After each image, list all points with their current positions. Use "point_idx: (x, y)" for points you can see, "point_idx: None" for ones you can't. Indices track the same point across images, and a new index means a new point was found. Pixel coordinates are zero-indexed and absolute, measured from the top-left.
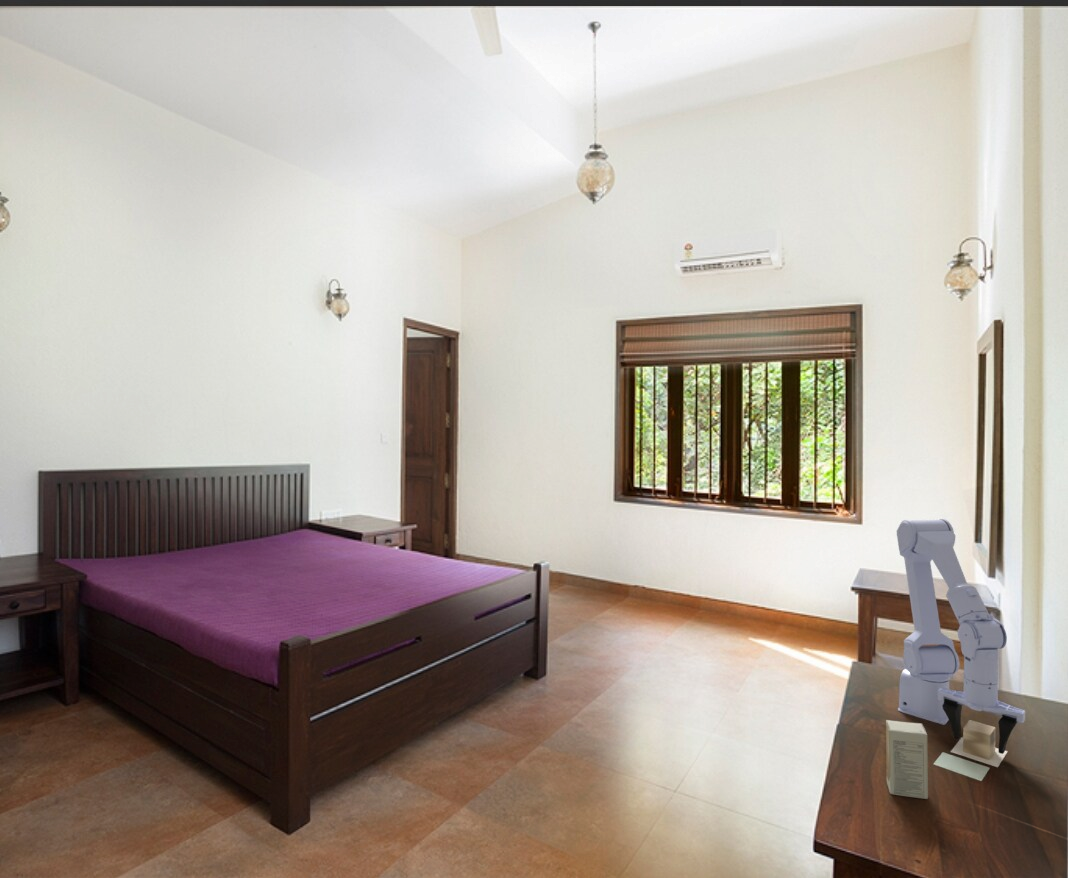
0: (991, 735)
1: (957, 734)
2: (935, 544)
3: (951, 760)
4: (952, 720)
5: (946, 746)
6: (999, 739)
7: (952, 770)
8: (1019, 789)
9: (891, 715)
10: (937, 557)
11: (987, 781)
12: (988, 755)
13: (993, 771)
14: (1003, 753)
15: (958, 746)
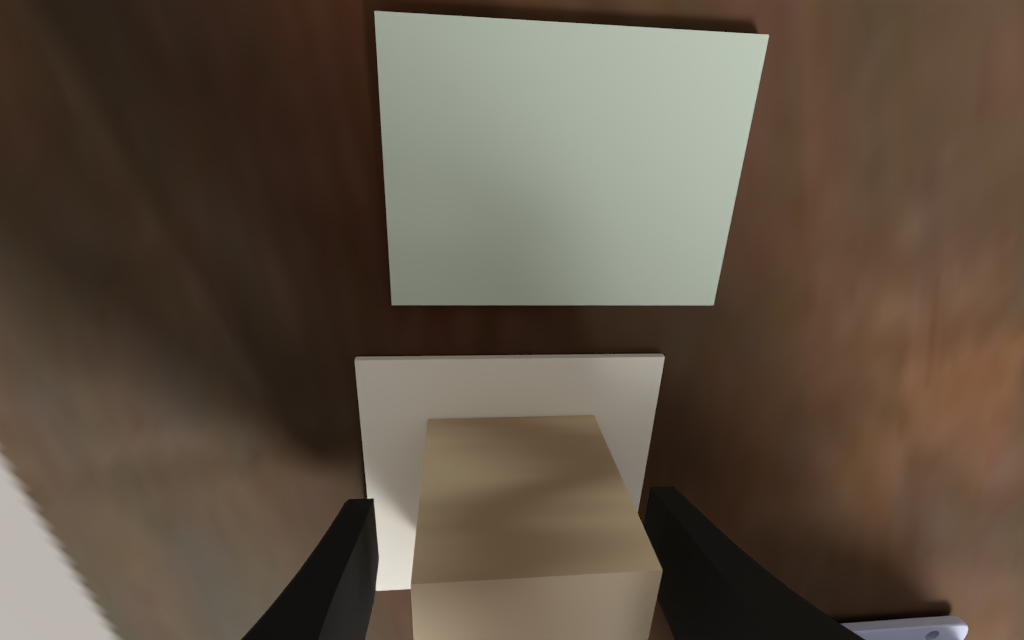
0: (414, 609)
1: (671, 515)
2: None
3: (644, 216)
4: (782, 609)
5: (692, 419)
6: (334, 590)
7: (615, 27)
8: (111, 128)
9: (994, 555)
10: None
11: (345, 78)
12: (432, 440)
13: (364, 291)
14: (386, 555)
15: (628, 459)
